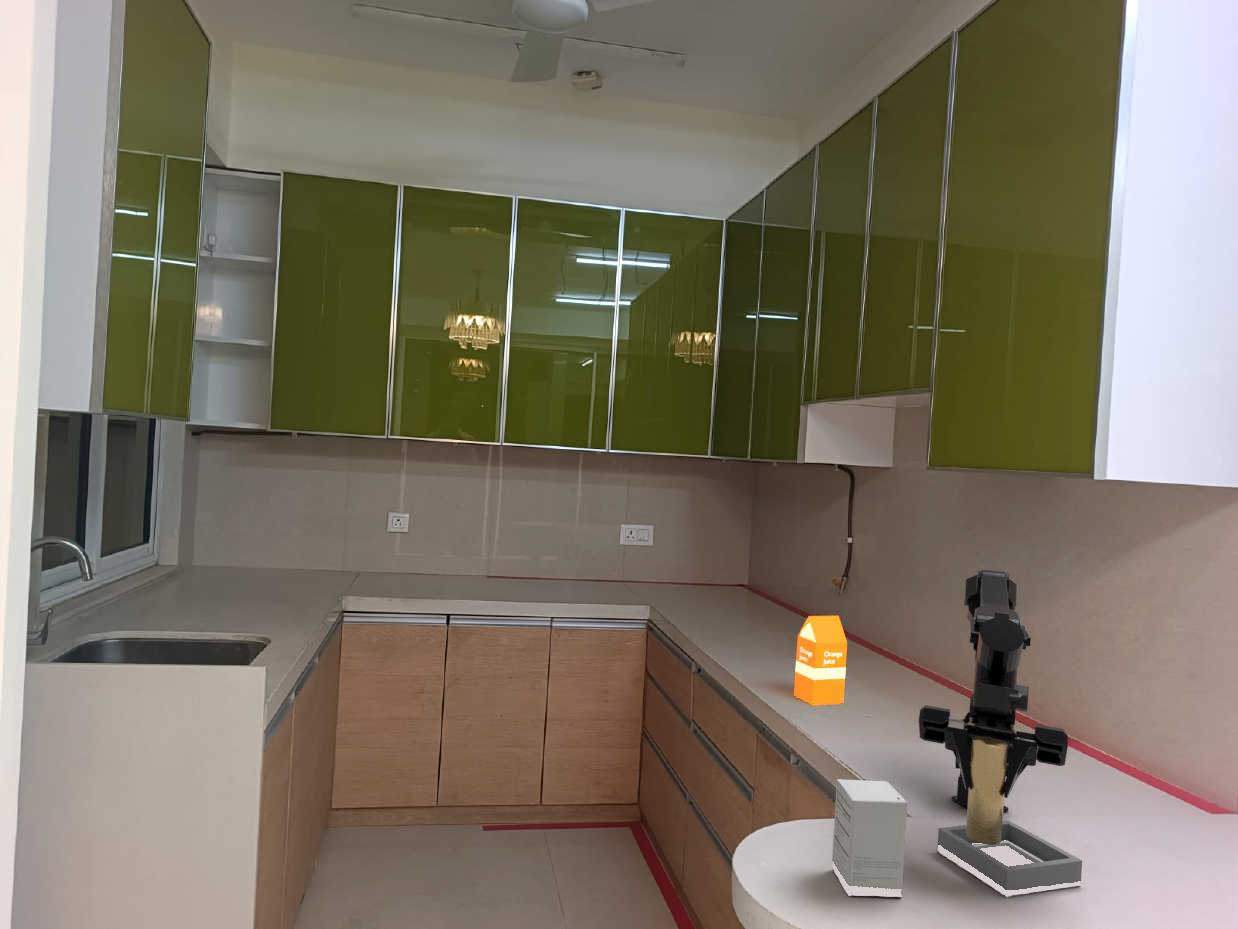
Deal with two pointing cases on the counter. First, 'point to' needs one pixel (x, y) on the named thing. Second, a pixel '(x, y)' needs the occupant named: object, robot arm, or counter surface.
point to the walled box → (1047, 857)
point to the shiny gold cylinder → (986, 790)
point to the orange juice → (821, 661)
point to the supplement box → (869, 833)
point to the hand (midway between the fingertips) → (986, 792)
